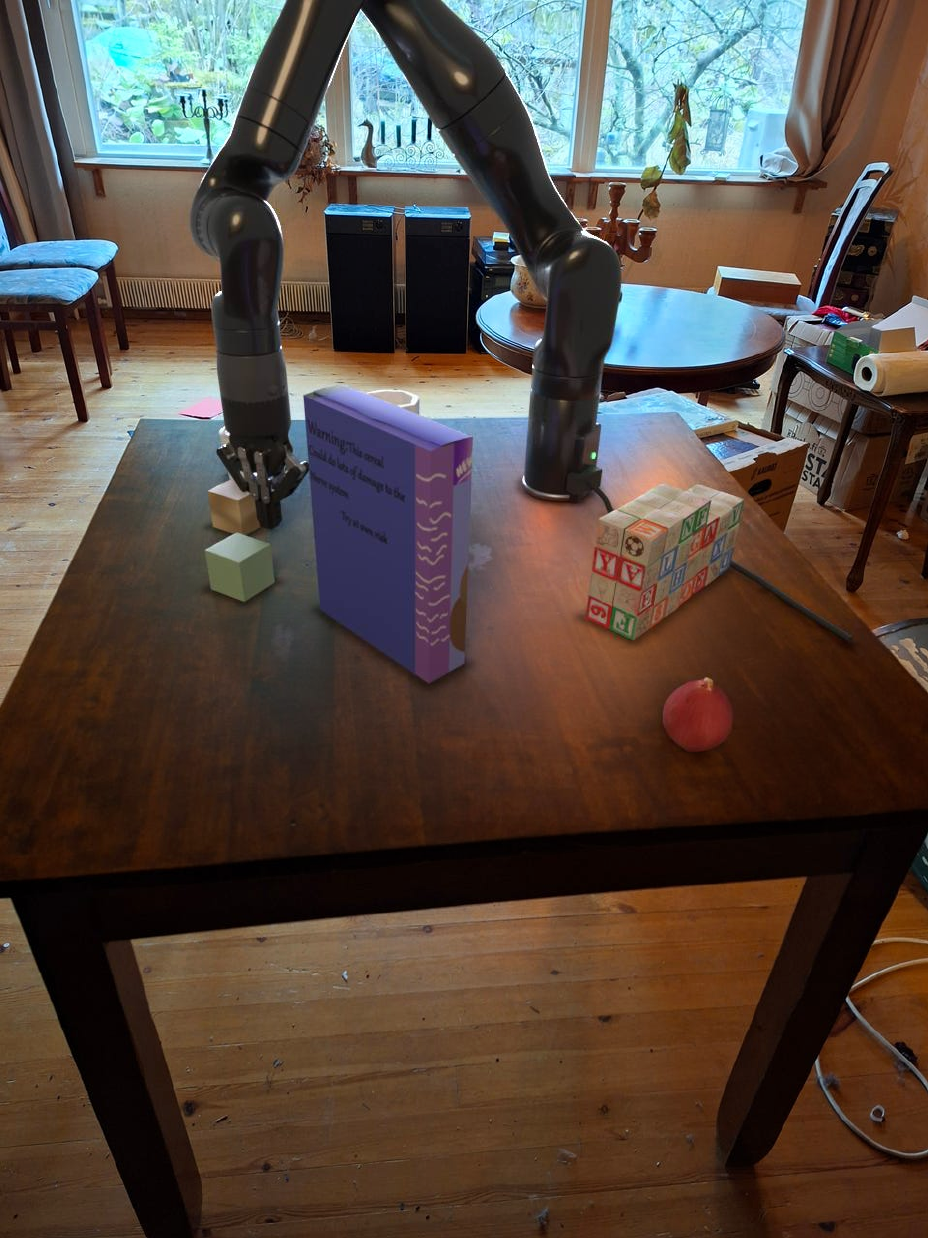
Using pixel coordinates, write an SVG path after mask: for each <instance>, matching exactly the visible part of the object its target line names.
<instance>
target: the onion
mask: <svg viewBox="0 0 928 1238" xmlns="http://www.w3.org/2000/svg"><path fill="white" fill-rule="evenodd" d="M662 710H663V712H662V724H663V726H664V729H665V732H666V733H667V736H668V738H669V739H671V741H672V742H673V743H675V744H676V745H677V746H678V747H680V748H681V749H683V750H684V751H686V752H688V753H699V752H705V751H710V750H712V749H716V748H717V747H718V746H720V745H721V744H723V743H724V742H725V741H726V740H727V739H728V738H729V736H730V734H731V733H732V731H733V730H732V729H733V723H734V709H733V706H732V704H731V702H730V700H729V698H728V696H727V695H726V693H725V692H724V691H723V690H722V689H721V688H720V687H719V686H718V685H717V684H715V683H714V680H713V679H712V678H709V677H704V678H703V679H695V680H691V681H688V682H686V683H684V684H681V686H679V687H678V688H676V689H674V690H673V692H671V694H670V695H669V696H668V697H667V698H666V701H665V702H664V706H663V709H662Z"/></svg>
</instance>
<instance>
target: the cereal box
mask: <svg viewBox="0 0 928 1238" xmlns="http://www.w3.org/2000/svg"><path fill="white" fill-rule="evenodd" d="M302 399H303V410H304V411H303V412H304V423H305V433H306V435H305V436H306V447H307V459H308V461H307V462H308V463H309V472H308V474H309V487H310V498H311V510H312V511H311V512H312V522H313V523H312V524H313V535H314V536H313V537H314V549H315V558H316V559H315V561H316V574H317V575H316V576H317V586H318V587H317V588H318V599H319V611H320V612H321V613H323V615H326V616H327V617H328V618H330V619H331V620H333V621H334V622H336V623H337V624H339V626H342V628H344V629H345V630H347V631H349V632H350V633H352V634H353V635H354V636H356V637H358V638H359V639H361V641H364V642H365V643H366V644H368V645H369V646H371V648H373V649H375V650H377V651H378V652H379V653H381V654H382V655H384V656H386V657H387V658H388V659H390V660H391V661H392V662H394V663H396V664H397V665H398V666H400V667H402V668H403V669H405V671H407V672H408V673H410V674H412V675H413V676H415V677H416V678H417V679H419V680H420V681H422V682H423V683H425V684H426V685H428V686H430V685H432V684H433V683H435V682H438V681H439V680H441V679H442V678H444V677H446V676H448V675H450V674H452V673H453V672H455V671H457V670H458V669H460V668H462V667H464V666H465V659H466V632H467V607H468V584H469V583H468V579H469V578H468V577H469V557H470V556H469V553H470V530H471V529H470V527H471V503H472V502H471V500H472V474H473V473H472V472H473V450H474V449H473V446H474V445H473V443H474V436H472V435H470V434H468V433H465V432H463V431H460V430H458V429H455V428H453V427H450V426H448V425H446V424H443V423H442V422H441V423H440V422H438V421H437V420H436V421H435V420H433V419H431V418H428V417H426V416H424V415H421V414H419V415H418V414H416V413H414V412H411V411H409V410H406V409H404V408H401V407H399V406H396V405H394V404H391V403H389V402H386V401H384V400H382V399H379V398H377V397H374V396H372V395H369V394H367V393H366V392H365V391H362V390H360V389H356V388H354V387H352V386H349V385H347V384H340V385H333V386H327V387H322V388H318V389H316V390H313V391H311V392H309V393H306V394H303V396H302Z"/></svg>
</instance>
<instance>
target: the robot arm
mask: <svg viewBox="0 0 928 1238" xmlns="http://www.w3.org/2000/svg"><path fill="white" fill-rule="evenodd" d="M360 12H361V13H362V14H363V16H364V17H365V18H366V19H367V21H368V22H369V23H370V25H371V26H372V28H373V29H374V30H375V32H376V33H377V34H378V36H379V38H380V39H381V41H382V42H383V44H384V45H385V47H386V49H387V51H388V52H389V53H390V56H391V57H392V59H393V61H394V62H395V64H396V66H397V67H398V69H399V71H400V72H401V73H402V76H403V77H404V78H405V79H404V80H406V82H407V84H408V85H409V87H410V88H411V89H412V91H413V93H414V94H415V96H416V98H417V99H418V101H419V103H420V104H421V105H422V107H423V109H424V111H425V112H426V115H428V118H429V119H430V121H431V122H432V124H433V126H434V127H435V129H436V131H437V132H438V134H439V135H440V137H441V139H442V140H443V142H444V143H445V145H446V146H447V148H448V149H449V151H450V153H451V154H452V155H453V157H454V159H455V160H456V161H457V163H458V164H459V166H460V167H461V168H462V169H463V171H464V173H465V174H466V176H467V177H468V179H469V180H470V181H471V183H472V184H473V186H474V187H475V188H476V189H477V191H478V192H479V194H480V195H481V196H482V197H483V199H484V200H485V201H486V203H487V204H488V205H489V206H490V207H491V209H492V211H494V212H495V214H496V215H497V216H498V218H499V219H500V221H501V222H502V224H503V225H504V227H505V229H506V230H507V232H508V234H509V236H510V238H511V240H512V242H513V243H514V245H515V247H516V249H517V251H518V254H519V255H520V257H521V260H522V261H523V263H524V266H525V267H526V270H527V272H528V274H529V277H530V278H531V281H532V282H533V284H534V286H535V288H536V290H537V292H538V293H539V295H540V296H541V297H542V298H543V300H545V301H546V307H545V309H546V310H545V319H544V327H543V334H542V336H541V339H539V340H537V341H536V342H535V345H534V346H533V353H532V367H531V379H530V390H529V391H530V392H529V402H528V403H529V405H528V417H527V418H528V419H527V429H526V430H527V431H526V443H525V454H524V455H525V456H524V457H525V458H524V470H523V477H522V489H523V490H524V491H525V492H526V493H527V494H528V495H530V496H532V497H534V498H537V499H539V500H543V501H548V502H557V503H560V502H561V503H562V502H563V503H564V502H569V503H572V504H573V503H574V504H577V503H579V502H580V501H581V500H583V498H585V497H586V496H587V495H588V494H589V493H590V492H591V491H593V492H595V493H596V495H598V497H599V498H600V499H601V500H602V502H603V504H604V507H605V508H606V511H607V512H608V513H607V514H609V513H610V512H612V511H614V510H615V509H614V508H613V506H612V504H611V501H610V499H609V497H608V495H606V493H605V492H604V491H603V490H602V489H601V488H600V487H601V483H602V478H603V477H602V476H603V468H601V467H598V466H597V465H598V455H599V448H600V441H601V433H602V424H601V423H598V413H599V405H600V397H601V392H602V391H601V390H602V382H603V373H604V366H605V360H606V357H607V355H608V354H609V352H610V349H611V348H612V344H613V340H614V335H615V328H616V323H617V317H618V312H619V304H620V299H621V291H622V274H623V273H622V265H621V261H620V258H619V255H618V254H617V252H616V250H615V249H614V248H613V247H612V245H610V244H609V243H608V242H607V241H604V240H602V239H601V238H599V237H597V236H594V235H592V234H591V233H589V232H588V231H586V230H585V229H584V227H583V226H582V225H581V224H580V222H579V221H578V220H577V218H576V217H575V216H574V215H573V213H572V211H570V209H569V207H568V206H567V203H565V201H564V199H563V198H562V197H561V195H560V194H559V192H558V190H557V188H556V186H555V185H554V183H553V181H552V178H551V176H550V174H549V171H548V168H547V165H546V162H545V158H544V155H543V152H542V151H543V150H542V147H541V145H540V140H539V138H538V134H537V131H536V128H535V126H534V123H533V120H532V117H531V116H530V113H529V111H528V109H527V107H526V105H525V103H524V101H523V99H522V97H521V96H520V94H519V92H518V90H517V89H516V87H515V85H514V83H513V81H512V79H511V77H510V76H509V74H508V72H507V71H506V69H505V67H504V66H503V63H501V61H500V59H499V58H498V57H497V55H496V54H495V52H494V51H493V50H492V48H491V47H490V46H489V45H488V44H487V43H486V42H485V41H484V39H482V38H481V37H480V36H479V35H478V33H476V32H475V31H474V30H473V29H472V28H471V27H470V26H469V25H468V24H467V23H466V22H465V21H464V20H462V19H461V17H460V16H458V14H456V13H455V12H454V11H453V10H452V9H451V8H450V7H449V6H448V5H447V4H446V3H445V2H444V1H443V0H285V3H284V4H283V6H282V9H281V11H280V13H279V14H278V17H277V19H276V21H275V23H274V25H273V27H272V29H271V30H270V33H269V35H268V37H267V39H266V41H265V43H264V45H263V47H262V49H261V51H260V53H259V55H258V58H257V60H256V63H255V64H254V66H253V69H252V71H251V73H250V77H249V80H248V82H247V84H246V86H245V90H244V91H243V95H242V98H241V100H240V103H239V106H238V109H237V111H236V114H235V118H234V120H233V123H232V127H231V130H230V133H229V135H228V137H227V139H226V140H225V142H224V143H223V145H222V146H221V148H220V149H219V151H218V152H217V154H216V156H215V157H214V159H213V161H212V162H211V164H210V166H209V167H208V169H207V171H206V173H205V174H204V176H203V177H202V180H201V181H200V183H199V185H198V187H197V189H196V192H195V194H194V197H193V199H192V203H191V207H190V213H189V229H190V234H191V237H192V240H193V241H194V244H195V245H196V247H198V249H199V250H200V251H201V252H202V253H203V254H204V255H206V256H208V258H212V259H213V260H215V261H218V262H219V266H220V291H218V292H217V293H216V294H215V295H214V296H213V298H212V300H211V307H210V308H211V309H210V310H211V322H212V328H213V329H212V330H213V334H214V343H215V349H216V372H217V373H216V374H217V381H218V388H219V396H220V403H221V409H222V417H223V424H224V427H225V429H226V430H227V431H228V432H229V433H230V435H229V443H227V444H226V445H224V446H222V445H221V447H218V448H217V449H216V455H217V456H218V459H219V460H220V462H221V463H222V465H223V466H224V467H225V469H226V471H227V473H228V472H229V473H230V475H231V476H232V478H233V479H234V481H235V483H236V484H237V486H238V487H239V489H240V490H241V491H242V492H246V491H247V492H249V493H250V494H251V497H252V498H253V499H254V500H255V506H256V513H257V519H258V521H259V523H260V526H261V527H260V528H264V529H267V530H270V531H272V530H274V529H275V528H277V527H278V526H280V525H281V523H282V521H283V513H282V505H281V504H282V503H281V501H283V500H284V499H286V498H289V497H290V496H293V494H294V493H295V491H297V489H298V488H299V486H300V484H301V483H302V482H303V481H304V479H305V477H306V476H307V475H308V474H309V461H307V460H305V461H302V462H300V460H299V459H298V458H297V457H296V456H295V454H293V453H294V447H293V444H292V442H291V440H290V437H289V433H290V429H291V426H292V414H291V405H290V396H289V384H288V383H289V382H288V374H287V366H286V361H285V357H284V352H283V347H282V335H281V325H280V324H281V323H280V316H279V310H278V306H279V305H278V304H279V299H280V293H281V286H282V275H283V267H284V255H285V254H284V252H285V251H284V249H285V248H284V238H283V232H282V228H281V224H280V221H279V219H278V216H277V214H276V213H275V211H274V209H273V208H272V206H271V204H269V203H268V202H267V201H268V200H269V198H270V196H271V194H272V192H273V190H274V189H275V188H276V186H278V185H280V184H282V183H285V182H287V181H289V180H290V179H292V178H293V176H294V175H295V173H296V172H297V170H298V168H299V166H300V163H301V161H302V158H303V155H304V153H305V150H306V148H307V145H308V144H309V140H310V137H311V136H312V132H313V129H314V127H315V125H316V122H317V120H318V117H319V114H320V111H321V108H322V105H323V103H324V101H325V100H324V99H325V98H326V95H327V93H328V90H329V87H330V84H331V82H332V79H333V76H334V74H335V71H336V68H337V65H338V63H339V61H340V58H341V56H342V52H343V50H344V47H345V46H346V42H347V40H348V39H349V35H350V33H351V31H352V29H353V27H354V25H355V23H356V20H357V18H358V16H359V14H360ZM240 471H242V472H243V473H244V478H243V476H242V475H241V473H240ZM729 568H731V569H734V570H735V571H737V572H739V573H740V574H742V575H744V576H746V577H747V578H749V579H751V580H752V581H754V582H755V583H757V584H759V586H761V587H763V588H765V589H766V590H768V591H769V592H770V593H772V594H773V595H775V596H776V597H778V598H779V599H780V600H782V601H784V603H785V604H787V605H789V606H790V607H792V608H793V609H795V610H797V611H798V612H800V613H801V614H802V615H804V616H806V617H807V618H809V619H810V620H812V621H813V622H815V623H816V624H818V625H820V626H822V627H823V628H825V629H826V630H828V631H829V632H831V633H832V634H834V635H835V636H837V637H839V638H840V639H842V640H844V641H845V642H847V643H851V642H852V641H853V639H854V636H852V635H851V634H849V633H848V632H846V631H844V630H843V629H841V628H840V627H838V626H837V625H834V624H833V623H831V622H830V621H828V620H827V619H825V618H824V617H822V616H820V615H818V614H817V613H815V612H813V611H812V610H811V609H809V608H807V607H806V606H804V605H803V604H801V603H799V602H798V601H796V600H795V599H793V598H792V597H790V596H789V595H788V594H786V593H785V592H783V590H780V588H777V587H776V586H775V585H773V584H772V583H770V582H768V581H767V580H766V579H764V578H763V577H761V576H760V575H757V574H756V573H754V572H753V571H751V570H749V569H747V568H746V567H744V566H743V565H741V564H739V563H738V562H736V561H733V560H732V559H731V563H730V567H729Z"/></svg>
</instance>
